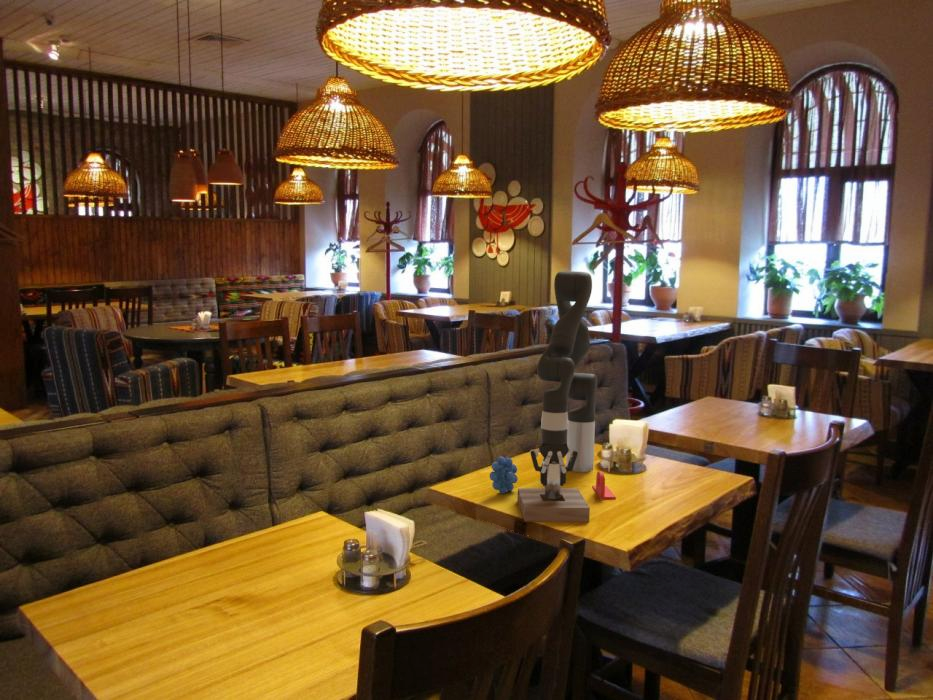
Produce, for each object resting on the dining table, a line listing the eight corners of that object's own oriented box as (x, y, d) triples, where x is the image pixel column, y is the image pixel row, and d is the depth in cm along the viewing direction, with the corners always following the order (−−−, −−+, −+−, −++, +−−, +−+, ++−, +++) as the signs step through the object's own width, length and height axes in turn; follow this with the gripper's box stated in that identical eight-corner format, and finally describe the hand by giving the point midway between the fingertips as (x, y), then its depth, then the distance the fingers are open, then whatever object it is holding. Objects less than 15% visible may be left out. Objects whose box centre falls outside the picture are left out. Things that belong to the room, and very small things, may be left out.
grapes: (500, 500, 231) (501, 461, 230) (484, 495, 236) (485, 457, 235) (526, 493, 239) (527, 455, 238) (510, 488, 244) (511, 451, 243)
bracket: (615, 500, 234) (616, 475, 233) (600, 500, 234) (601, 475, 233) (606, 488, 246) (607, 464, 245) (592, 489, 245) (593, 464, 244)
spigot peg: (543, 493, 224) (544, 460, 223) (559, 494, 224) (560, 460, 223) (545, 498, 219) (546, 464, 218) (561, 498, 220) (562, 464, 219)
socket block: (517, 501, 231) (517, 488, 231) (577, 501, 232) (577, 488, 231) (524, 521, 213) (524, 507, 213) (589, 521, 214) (589, 507, 213)
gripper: (577, 424, 224) (575, 481, 226) (527, 423, 223) (526, 481, 225) (581, 429, 216) (579, 489, 218) (531, 429, 216) (529, 489, 218)
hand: (552, 484), depth 222 cm, fingers closed on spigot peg, 4 cm apart
